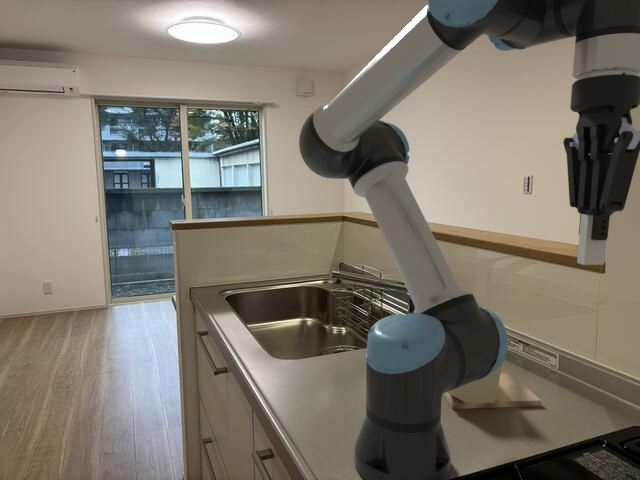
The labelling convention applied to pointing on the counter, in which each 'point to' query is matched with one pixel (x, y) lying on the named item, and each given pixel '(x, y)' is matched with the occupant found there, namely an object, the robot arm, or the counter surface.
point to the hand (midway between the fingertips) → (590, 263)
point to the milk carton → (479, 389)
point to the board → (501, 395)
